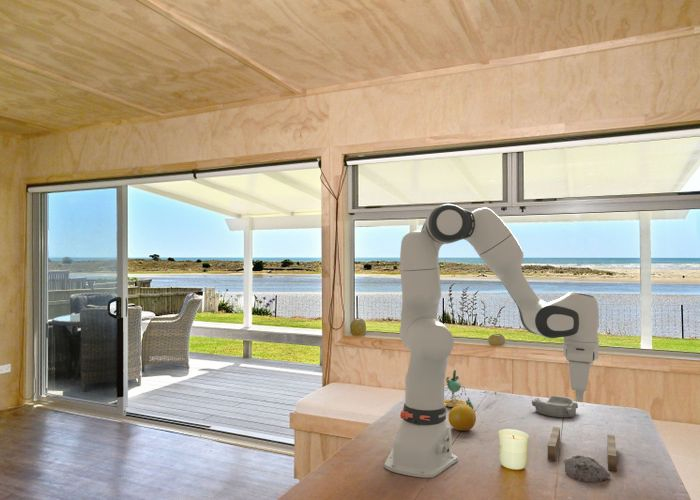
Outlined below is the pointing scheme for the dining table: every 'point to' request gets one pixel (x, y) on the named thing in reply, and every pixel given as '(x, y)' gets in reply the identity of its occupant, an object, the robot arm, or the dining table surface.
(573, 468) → the rock
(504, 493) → the dining table surface
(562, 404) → the dish
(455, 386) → the green and yellow piece
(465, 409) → the fruit
